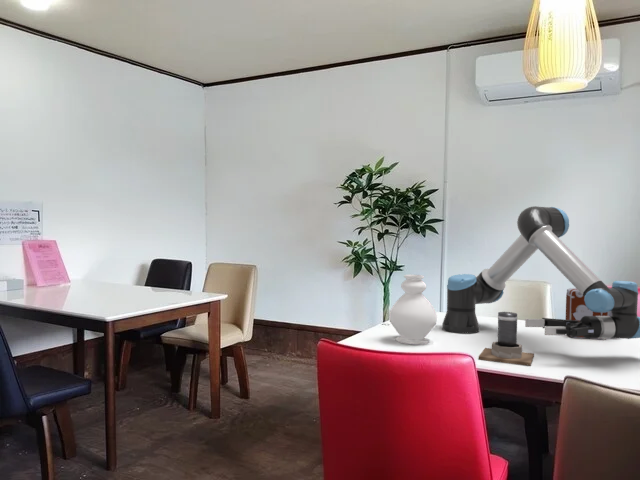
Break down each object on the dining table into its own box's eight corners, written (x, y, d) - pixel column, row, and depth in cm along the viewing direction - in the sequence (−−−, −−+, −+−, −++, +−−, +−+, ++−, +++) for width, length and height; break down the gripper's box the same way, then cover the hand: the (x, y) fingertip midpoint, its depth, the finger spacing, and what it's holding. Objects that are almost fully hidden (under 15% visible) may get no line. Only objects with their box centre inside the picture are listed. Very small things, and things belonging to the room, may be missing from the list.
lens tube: (496, 355, 169) (496, 313, 169) (498, 351, 175) (499, 311, 174) (515, 358, 167) (516, 315, 166) (517, 353, 172) (518, 312, 172)
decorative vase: (380, 337, 200) (382, 273, 199) (419, 334, 206) (421, 273, 205) (404, 347, 183) (405, 278, 182) (445, 344, 189) (447, 277, 189)
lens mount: (478, 359, 168) (478, 345, 168) (485, 350, 181) (485, 337, 180) (530, 366, 161) (531, 351, 161) (533, 356, 173) (534, 343, 173)
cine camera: (623, 341, 200) (624, 290, 199) (569, 338, 204) (571, 288, 203) (614, 336, 209) (616, 288, 208) (563, 334, 213) (565, 286, 212)
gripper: (619, 346, 160) (554, 346, 159) (575, 330, 185) (518, 330, 184) (620, 323, 160) (554, 322, 159) (575, 310, 185) (518, 309, 183)
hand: (535, 326), depth 171 cm, fingers open, 13 cm apart
